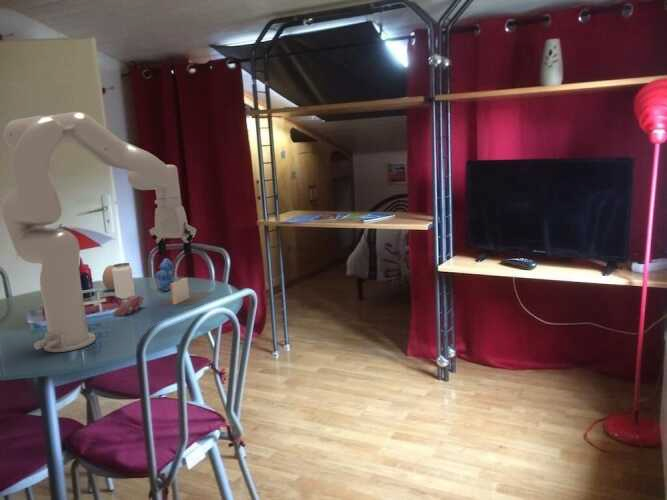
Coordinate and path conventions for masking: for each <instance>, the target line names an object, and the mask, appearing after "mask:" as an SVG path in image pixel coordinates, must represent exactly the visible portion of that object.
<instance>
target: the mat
mask: <svg viewBox="0 0 667 500" xmlns="http://www.w3.org/2000/svg"><path fill="white" fill-rule="evenodd" d="M214 293H215V291H199V290H196V291H193V290H191V291H190V290H189V298H188V299H186V300H184V301H182V302H180V303H178V304H176V305H178V306H191V305H193V304H195V303H196V302H199V301H200V300H203V299H204V298H206V297H208V296H211V295H212V294H214ZM158 304H159V305H171V306H172V305H173V306H174V304H172V300H171V297H170V298H168V299H166V300H164V301H162V302H159V303H158ZM176 305H175V306H176Z"/></svg>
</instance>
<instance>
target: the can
mask: <svg viewBox="0 0 667 500" xmlns="http://www.w3.org/2000/svg"><path fill="white" fill-rule="evenodd" d="M112 273H113V281H114V288H115V290H114V294H115V297H116V296H117V297H119V298H121V299H120V300H126V299H127V298H128V297H130V296H133V295H136V292H135V286H134V284H135V283H134V277H133V269H132V267H131V265H130V263H129V262H121V263H115V264H113V269H112Z"/></svg>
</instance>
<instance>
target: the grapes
mask: <svg viewBox="0 0 667 500" xmlns="http://www.w3.org/2000/svg"><path fill="white" fill-rule="evenodd" d="M173 265H174V264H173V262H172V261H171V260H170V259H169V258H167V257H166V258H163V259H162V260H161V263H160V264H159V269H160V270H159V271H156V273H155V274H154V277H155V278H156V279H157V280H160V281H158V284H159V285H160V286H161V287H160V288H161V290H162V291H163V292H168V291H169V290H170V284H171V283H173V282H175V279H174V277H173V276H174V273H175V270H174V268H173V267H172V266H173Z"/></svg>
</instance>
